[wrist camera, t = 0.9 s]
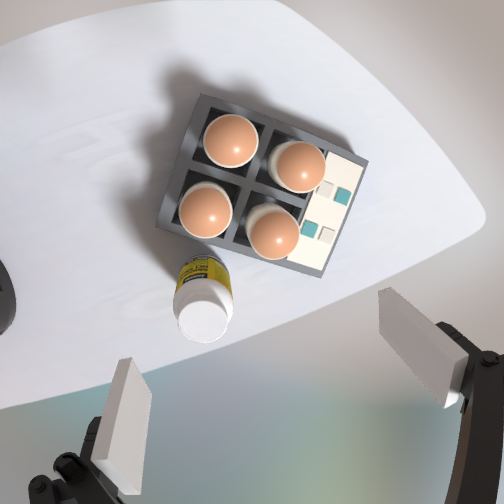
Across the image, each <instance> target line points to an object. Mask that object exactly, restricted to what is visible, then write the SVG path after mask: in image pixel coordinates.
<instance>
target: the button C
mask: <svg viewBox="0 0 504 504" xmlns="http://www.w3.org/2000/svg"><path fill="white" fill-rule="evenodd" d="M245 232H246V234H247V237H248V239H249V241H250V244H251V246H252V248H253V249H254V251H255V252H256V253H257V254H258V255H260V256H261V257H263V258H266V259H270V260H277V259H282V258H284V257H286V256H288V255H289V254H291V253H292V252H293V251H294V250H295V248H296V247H297V245H298V243H299V239H300V228H299V225H298V222H297V221H296V219H295V218H294V217H293V216H292V215H291V214H290V213H288V212H287V211H286V210H285V209H284V208H282V207H281V206H280V205H278V204H276V203H272V202H263V203H260V204H258V205H256V206H254V207H253V208H252V209H251V210H250V211H249V212H248V214H247V216H246V219H245Z"/></svg>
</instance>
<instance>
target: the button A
mask: <svg viewBox="0 0 504 504" xmlns="http://www.w3.org/2000/svg"><path fill="white" fill-rule="evenodd" d="M179 218H180V221H181V224H182V225H183V227H184V228H185V230H186V231H187V232H189V233H190V234H191V235H193V236H195V237H199V238H212V237H215V236H218V235H220V234H221V233H222V232H224V231H225V230H226V228H227V227H228V226H229V224H230V222H231V219H232V205H231V202H230V199H229V197H228V194H227V192H226V191H225V190H224V188H223V187H222V186H220V185H219V184H217V183H215V182H211V181H201V182H198V183H196V184H194V185H192V186H191V187H190V188H189V189H188V190H187V192H186V193H185V195H184V197H183V199H182V201H181V203H180V206H179Z"/></svg>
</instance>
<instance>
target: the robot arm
mask: <svg viewBox="0 0 504 504" xmlns="http://www.w3.org/2000/svg"><path fill="white" fill-rule="evenodd" d="M378 297H379V327H380V334H381V335H382V336H383V338H384V339H385V340H386V341H387V342H388V343H389V344H390V346H391V347H392V348H393V349H394V350H395V351H396V352H397V354H398V355H399V356H400V357H401V358H402V359H403V361H404V362H405V363H406V364H407V365H408V366H409V368H410V369H411V370H412V371H413V372H414V373H415V375H416V376H417V377H418V378H419V379H420V381H421V382H422V383H423V384H424V385H425V386H426V388H427V389H428V390H429V391H430V392H431V394H432V395H433V396H434V397H435V398H436V400H437V401H438V402H439V403H440V404H441V406H442V407H443V408H444V409H445V408H447V407H448V406H450V405H452V404H453V403H455V402H457V401H458V398H459V394H460V392H461V393H462V394H463V396H464V397H465V398H464V402H463V405H462V408H461V411H460V413H462V418H461V426H460V433H459V439H458V446H457V451H456V457H455V461H454V466H453V471H452V475H451V480H450V484H449V489H448V492H447V496H446V500H445V504H496V499H497V492H498V486H499V479H500V471H501V460H502V448H503V432H504V354H503V355H499V354H497V353H495V352H493V351H481V350H480V349H479V348H478V347H476V346H475V345H474V344H473V343H472V342H470V341H469V340H468V339H467V338H466V337H465V336H463V335H462V334H461V333H460V332H458V331H457V330H456V329H455V328H454V327H452V325H450V324H447V323H444V322H440V323H437V324H434V323H433V322H432V321H430V320H429V319H428V318H427V317H426V316H424V315H423V314H422V313H421V312H420V311H419V310H418V309H416V308H415V307H414V306H413V305H412V304H410V303H409V302H408V301H407V300H406V299H404V298H403V297H402V296H401V295H400V294H398V293H397V292H396V291H395V290H393V289H392V288H391V287H389V288H386V289H383V290H380V291H378ZM15 312H16V298H15V293H14V288H13V285H12V282H11V280H10V277H9V275H8V273H7V271H6V269H5V267H4V266H3V264H2V263H1V261H0V335H2V334H3V333H4V332H5V331H6V330H7V329H8V327H9V326H10V325H11V324H12V322H13V320H14V317H15ZM151 399H152V394H151V392H150V391H149V389H148V387H147V385H146V383H145V381H144V379H143V378H142V376H141V374H140V372H139V370H138V368H137V366H136V364H135V362H134V360H133V358H126V359H121V360H119V362H118V365H117V368H116V371H115V374H114V377H113V381H112V384H111V387H110V391H109V394H108V397H107V400H106V404H105V407H104V411H103V414H102V416H100V417H94V419H93V420H92V421H91V423H90V424H89V426H88V429H87V433H86V434H87V435H86V436H85V439H84V441H85V442H84V443H83V446H82V450H81V453H80V457H78V456H77V455H76V454H75V453H72V452H67V453H64V454H62V455H60V456H59V457H58V458H57V459H56V460H55V462H54V466H53V469H54V472H55V473H56V474H57V475H58V476H59V477H60V479H57V480H53V481H51V480H50V479H49V478H48V477H47V476H45V475H38V476H36V477H34V478H33V479H32V480H31V481H30V484H29V487H28V491H29V499H30V504H125V503H124V502H123V501H122V500H121V499H120V498H119V497H118V496H117V494H118V489H119V490H120V491H122V493H124V494H125V495H137V494H141V484H142V474H143V464H144V454H145V445H146V437H147V429H148V421H149V414H150V406H151Z"/></svg>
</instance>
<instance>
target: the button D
mask: <svg viewBox="0 0 504 504" xmlns="http://www.w3.org/2000/svg"><path fill="white" fill-rule="evenodd" d="M267 169H268V173H269V175H270V177H271V178H272V180H273V181H274V182H276V183H277V184H278V185H280V186H282V187H284V188H286V189H288V190H290V191H292V192H295V193H307V192H310V191H312V190H314V189H315V188H317V187H318V186H319V185H320V184H321V182H322V181H323V179H324V177H325V174H326V161H325V158H324V155H323V154H322V152H321V151H320V149H319V148H317V147H316V146H315V145H313V144H311V143H309V142H305V141H293V142H284V143H281V144H279V145H277V146H276V147H275V148H274V149H273V150H272V151H271V153H270V154H269V157H268V160H267Z"/></svg>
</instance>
